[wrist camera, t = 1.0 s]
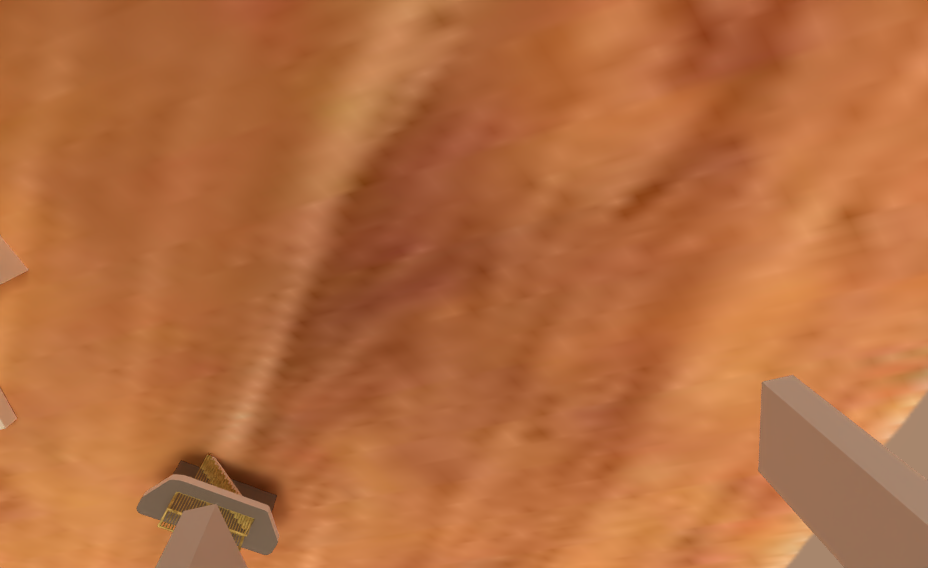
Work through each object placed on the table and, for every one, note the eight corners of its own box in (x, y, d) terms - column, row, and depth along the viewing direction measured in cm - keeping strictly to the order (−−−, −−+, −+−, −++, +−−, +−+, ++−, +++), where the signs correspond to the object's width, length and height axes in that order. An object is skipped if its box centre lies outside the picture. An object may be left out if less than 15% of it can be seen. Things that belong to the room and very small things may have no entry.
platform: (150, 363, 39) (102, 417, 32) (371, 454, 43) (366, 515, 37) (93, 481, 42) (40, 551, 35) (306, 554, 47) (292, 625, 40)
